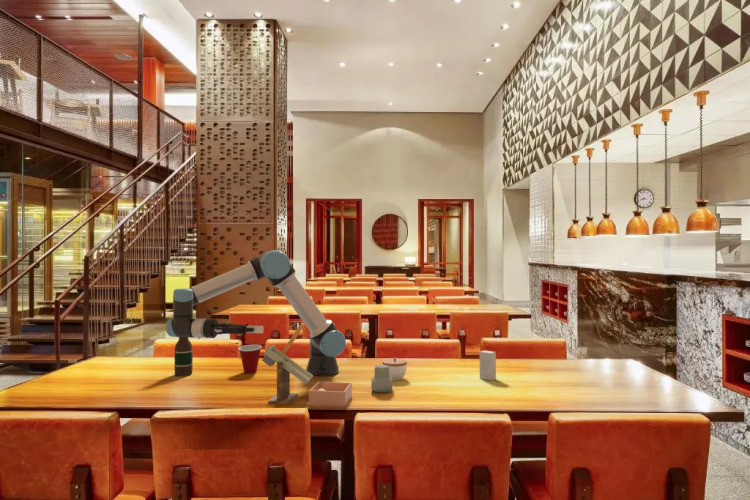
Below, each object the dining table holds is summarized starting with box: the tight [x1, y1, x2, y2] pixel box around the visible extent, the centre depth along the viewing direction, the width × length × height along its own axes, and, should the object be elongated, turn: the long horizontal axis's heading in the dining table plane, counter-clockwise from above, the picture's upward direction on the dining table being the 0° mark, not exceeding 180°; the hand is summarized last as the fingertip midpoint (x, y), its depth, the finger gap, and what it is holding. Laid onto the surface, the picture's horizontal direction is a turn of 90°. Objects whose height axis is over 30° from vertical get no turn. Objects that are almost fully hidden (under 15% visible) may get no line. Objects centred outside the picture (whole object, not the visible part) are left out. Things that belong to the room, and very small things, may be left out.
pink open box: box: [308, 381, 353, 408], centre depth 190 cm, size 13×13×6 cm
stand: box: [267, 356, 299, 405], centre depth 193 cm, size 8×11×15 cm
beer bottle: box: [174, 337, 194, 377], centre depth 233 cm, size 8×8×24 cm
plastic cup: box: [238, 344, 263, 374], centre depth 238 cm, size 11×11×12 cm
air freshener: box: [370, 364, 393, 394], centre depth 205 cm, size 11×8×10 cm
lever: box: [261, 322, 314, 385], centre depth 193 cm, size 20×10×18 cm
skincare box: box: [479, 350, 497, 381], centre depth 224 cm, size 6×4×12 cm
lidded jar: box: [382, 357, 408, 381], centre depth 225 cm, size 11×11×9 cm
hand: (262, 329), depth 199 cm, fingers closed
